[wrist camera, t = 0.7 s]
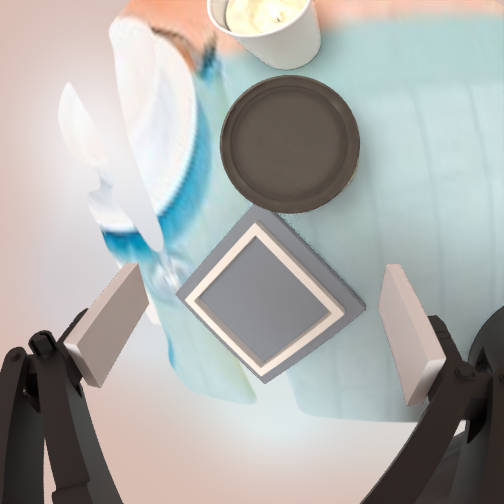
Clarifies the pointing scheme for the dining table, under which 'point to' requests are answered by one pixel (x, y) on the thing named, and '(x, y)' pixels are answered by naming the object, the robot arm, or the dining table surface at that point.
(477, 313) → the dining table surface
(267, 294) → the grey square tray
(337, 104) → the coffee can
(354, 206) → the dining table surface
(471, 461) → the robot arm
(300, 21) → the candle holder
